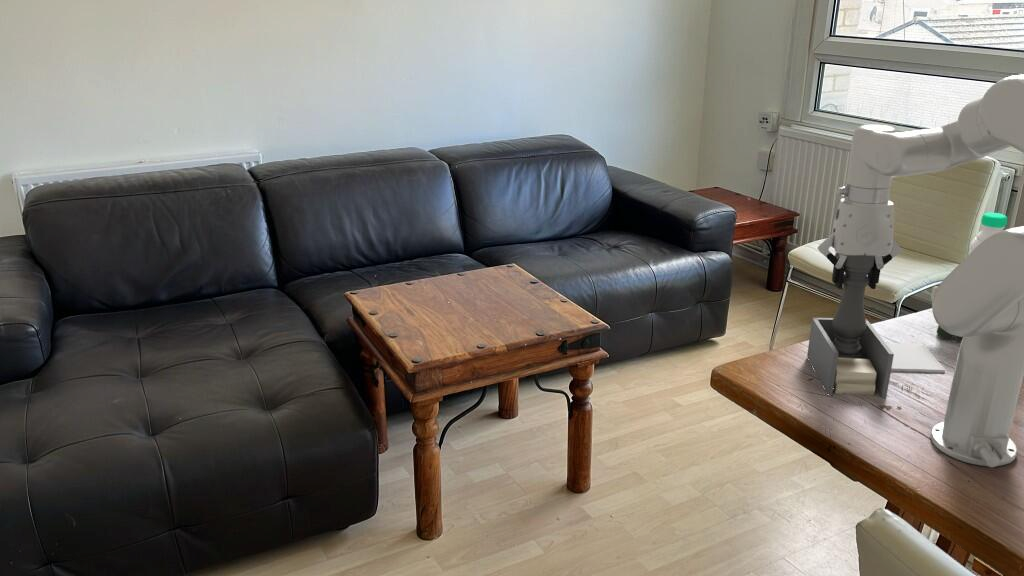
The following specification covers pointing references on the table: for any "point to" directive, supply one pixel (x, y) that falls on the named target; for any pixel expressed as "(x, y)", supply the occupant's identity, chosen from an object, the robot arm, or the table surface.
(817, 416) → the table surface
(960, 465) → the table surface
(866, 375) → the upper offcut
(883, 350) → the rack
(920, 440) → the table surface
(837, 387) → the block
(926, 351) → the mat
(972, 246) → the water bottle
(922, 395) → the table surface
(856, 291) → the candle holder
